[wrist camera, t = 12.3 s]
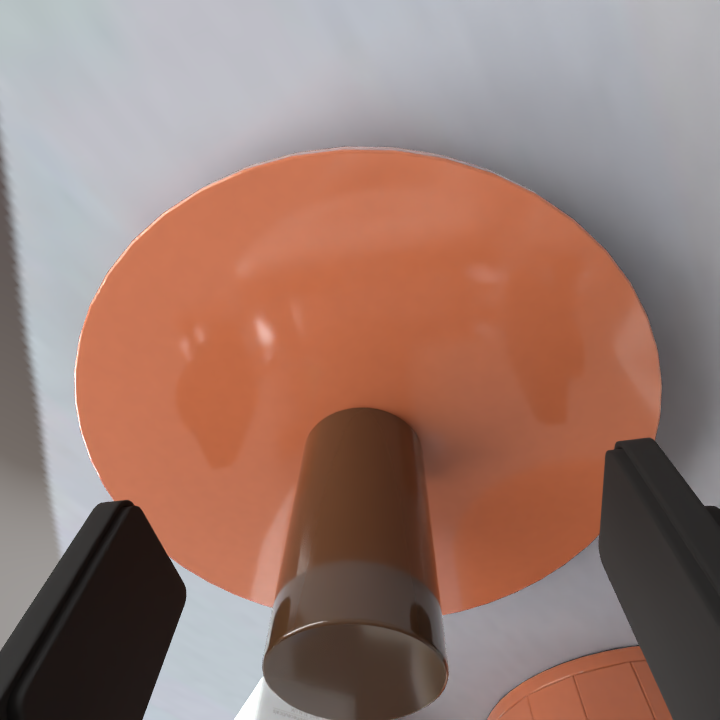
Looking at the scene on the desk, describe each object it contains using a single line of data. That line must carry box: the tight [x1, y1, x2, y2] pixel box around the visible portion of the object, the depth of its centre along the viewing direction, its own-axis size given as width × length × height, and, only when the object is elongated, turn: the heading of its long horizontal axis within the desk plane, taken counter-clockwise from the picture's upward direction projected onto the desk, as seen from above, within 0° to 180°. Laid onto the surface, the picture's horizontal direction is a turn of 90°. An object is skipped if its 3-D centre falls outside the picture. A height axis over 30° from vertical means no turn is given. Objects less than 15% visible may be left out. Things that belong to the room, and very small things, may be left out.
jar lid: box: [74, 146, 662, 720], centre depth 10 cm, size 13×13×6 cm
